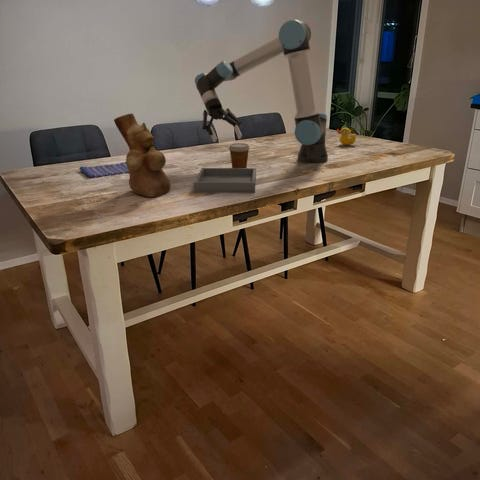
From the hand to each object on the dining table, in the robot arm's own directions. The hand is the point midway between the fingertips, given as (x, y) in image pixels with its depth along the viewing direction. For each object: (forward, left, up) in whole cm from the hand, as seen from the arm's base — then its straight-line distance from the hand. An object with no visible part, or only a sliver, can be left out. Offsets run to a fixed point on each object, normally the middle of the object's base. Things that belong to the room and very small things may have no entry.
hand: (228, 138), depth 214 cm
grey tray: (-2, +30, -13) cm, 33 cm away
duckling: (-65, -56, -14) cm, 86 cm away
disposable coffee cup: (-6, +7, -14) cm, 16 cm away
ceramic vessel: (+30, +41, -14) cm, 53 cm away
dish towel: (+55, +9, -14) cm, 58 cm away
